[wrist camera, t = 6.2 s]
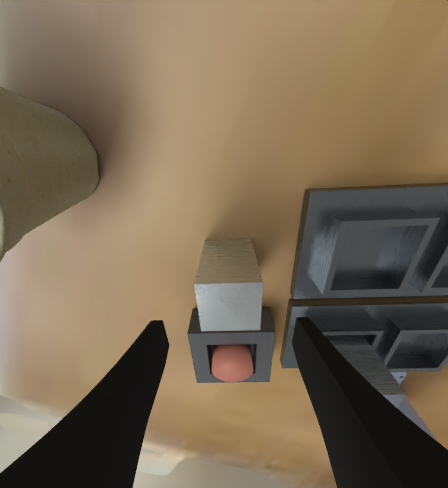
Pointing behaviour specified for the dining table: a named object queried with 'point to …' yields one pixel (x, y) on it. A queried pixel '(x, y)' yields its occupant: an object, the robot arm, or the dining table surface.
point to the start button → (232, 362)
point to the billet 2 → (368, 365)
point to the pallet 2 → (379, 328)
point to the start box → (257, 339)
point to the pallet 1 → (372, 242)
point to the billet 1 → (229, 286)
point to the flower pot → (39, 166)
